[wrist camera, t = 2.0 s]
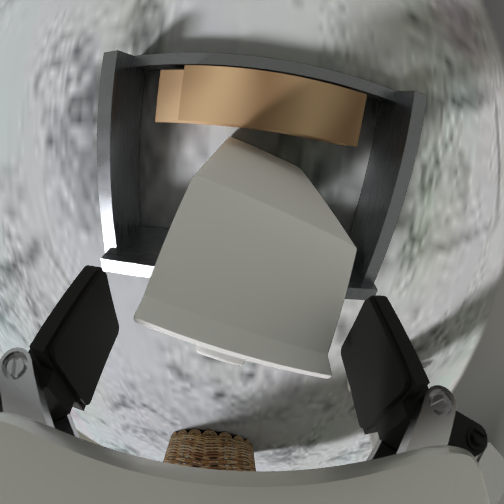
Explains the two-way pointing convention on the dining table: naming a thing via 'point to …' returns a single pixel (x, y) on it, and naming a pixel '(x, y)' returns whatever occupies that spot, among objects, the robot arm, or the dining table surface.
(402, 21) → the dining table surface
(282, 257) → the milk carton
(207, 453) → the wicker basket
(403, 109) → the dark grey tray
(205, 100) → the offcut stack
